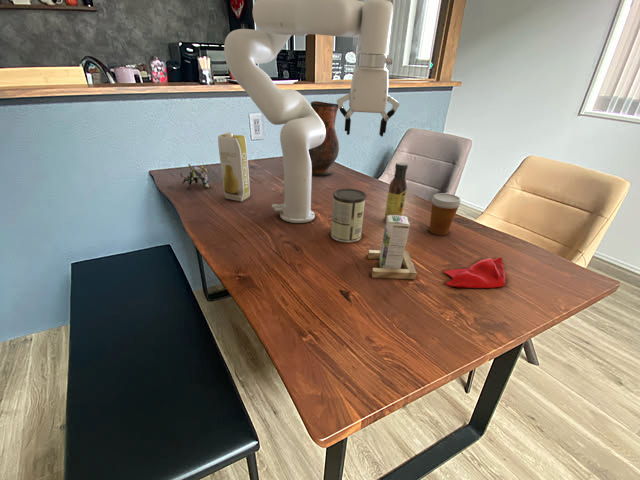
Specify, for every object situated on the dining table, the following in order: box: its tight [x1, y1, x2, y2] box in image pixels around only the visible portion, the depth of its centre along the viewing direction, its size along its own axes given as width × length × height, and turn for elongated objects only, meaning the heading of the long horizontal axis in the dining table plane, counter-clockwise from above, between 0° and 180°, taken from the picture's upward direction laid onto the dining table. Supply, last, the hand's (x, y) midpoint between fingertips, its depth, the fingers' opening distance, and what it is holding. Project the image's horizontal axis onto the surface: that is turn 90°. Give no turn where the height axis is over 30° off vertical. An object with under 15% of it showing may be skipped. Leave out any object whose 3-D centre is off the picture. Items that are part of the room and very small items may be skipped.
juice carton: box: [217, 131, 251, 202], centre depth 139 cm, size 9×8×24 cm
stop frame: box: [367, 249, 418, 280], centre depth 105 cm, size 12×13×2 cm
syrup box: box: [378, 215, 411, 269], centre depth 101 cm, size 6×6×14 cm
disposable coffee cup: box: [428, 192, 462, 236], centre depth 124 cm, size 10×10×12 cm
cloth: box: [443, 257, 506, 289], centre depth 103 cm, size 26×14×2 cm, turn 120°
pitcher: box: [309, 100, 340, 177], centre depth 168 cm, size 17×21×30 cm
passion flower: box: [179, 163, 210, 189], centre depth 151 cm, size 11×11×12 cm
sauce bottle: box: [384, 162, 409, 222], centre depth 128 cm, size 7×6×20 cm
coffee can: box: [330, 188, 367, 243], centre depth 117 cm, size 10×10×14 cm
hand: (364, 134), depth 105 cm, fingers open, 9 cm apart
